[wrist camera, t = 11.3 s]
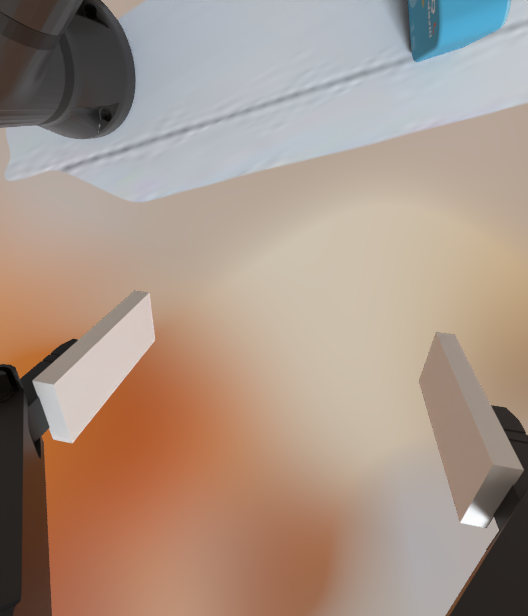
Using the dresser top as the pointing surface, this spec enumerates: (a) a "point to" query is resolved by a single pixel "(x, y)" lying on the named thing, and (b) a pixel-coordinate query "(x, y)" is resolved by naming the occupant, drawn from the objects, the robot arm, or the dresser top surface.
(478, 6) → the data package
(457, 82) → the dresser top surface
